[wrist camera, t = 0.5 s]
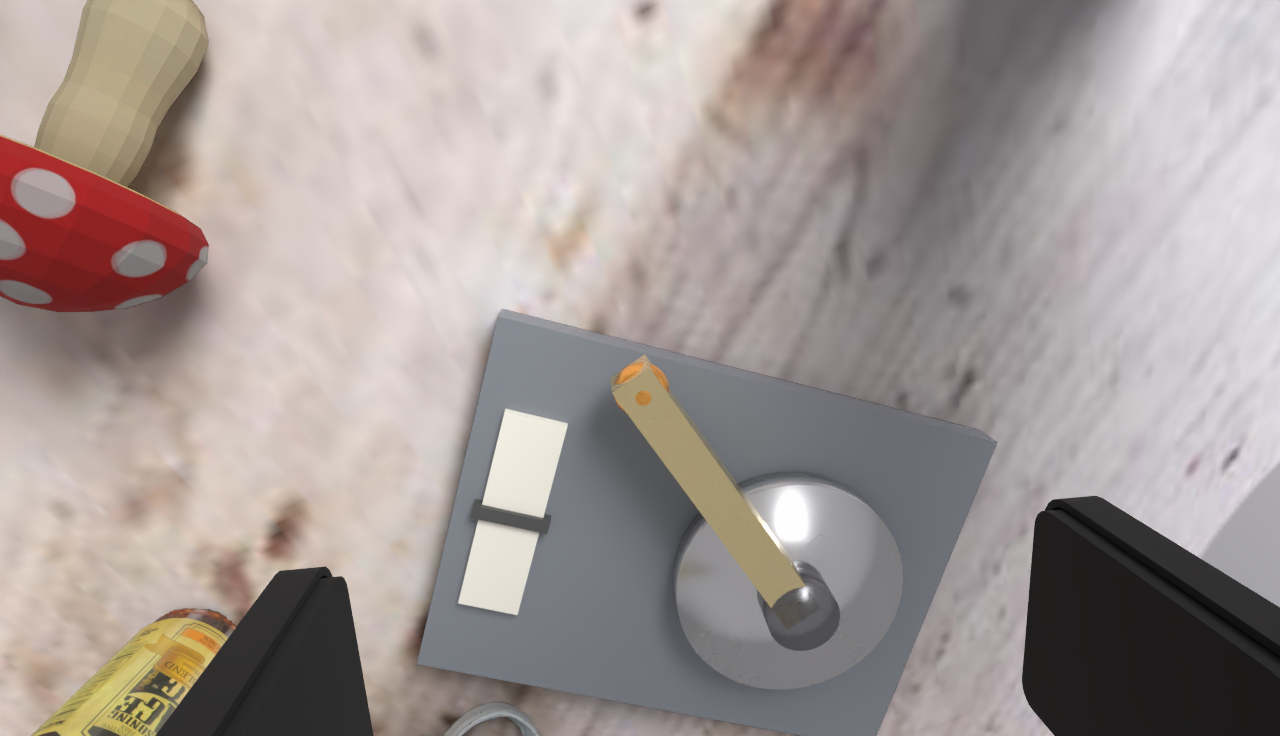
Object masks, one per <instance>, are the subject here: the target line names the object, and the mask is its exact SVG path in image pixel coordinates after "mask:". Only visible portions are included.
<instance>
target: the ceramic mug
mask: <svg viewBox="0 0 1280 736" xmlns="http://www.w3.org/2000/svg"><path fill="white" fill-rule="evenodd" d="M496 717H507V718H508V719H510V720H511V721H512V722H514V723H515V724H516V725H517V726H518V727H519V728H520V729H521V733H522V735H523V736H540V735H539V733H538V731H537V729H536V727H535V725H534V724H533V722H532V720H531V719H530V718H529V717H528V716H527V715H526V714H525V713H524V712H522V711H521V710H520V709H518V708H516V707H514V706H512V705H509V704H507V703H500V702H492V703H488V704H484V705H480V706H477V707H475V708H473V709H471V710H470V711H468V712H467V713H465V714H464V715H463V716H462V717H461V718H460V719H459V720H457V721H456V722H455V723H454V724H453V725H452V726H451V727H450V728H449V730H448V731H447V732H446V733H445V734H444V736H462V735H463V734H465V733H466V732H467V731H468V730H469V729H471V728H472V727H473V726H475V725H476V724H479V723H481V722H484V721H486V720H491V719H494V718H496ZM420 736H428V735H420Z"/></svg>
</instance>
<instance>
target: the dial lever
mask: <svg viewBox="0 0 1280 736" xmlns="http://www.w3.org/2000/svg"><path fill="white" fill-rule="evenodd" d="M610 381H611V389H612V394H613V395H614V399H615V401H616V404H617V405H618V407H619V408H620V409H621V410H622V411H623V412H624V413H626V414H627V415H628V416H629V417H630V418H631V420H632V421H633V422H634V424H635V425H636V426H637V428H638V429H639V430H640V432H641V433H642V434H643V436H644V437H645V439H646V440H647V441H648V443H649V444H650V445H651V447H652V448H653V449H654V451H655V452H656V453H657V455H658V456H659V457H660V459H661V460H662V462H663V463H664V464H665V466H666V467H667V468H668V470H669V471H670V472H671V474H672V475H673V476H674V478H675V479H676V480H677V482H678V483H679V484H680V486H681V487H682V489H683V490H684V491H685V493H686V494H687V495H688V497H689V498H690V499H691V501H692V502H693V503H694V505H695V506H696V507H697V509H698V510H699V511H700V512H699V514H698V515H697V516H696V517H695V518H694V520H693V521H692V522H691V524H690V526H689V527H688V529H687V530H686V532H685V534H684V536H683V538H682V540H681V543H680V545H679V547H678V551H677V554H676V558H675V563H674V570H673V588H674V594H675V600H676V605H677V610H678V614H679V619H680V622H681V625H682V628H683V631H684V633H685V635H686V637H687V639H688V641H689V643H690V644H691V646H692V647H693V649H694V650H695V652H696V653H697V654H698V655H699V656H700V657H701V658H702V659H703V660H704V661H705V662H706V663H707V664H708V665H709V666H711V667H712V668H713V669H714V670H716V671H717V672H719V673H720V674H722V675H724V676H725V677H727V678H730V679H732V680H734V681H736V682H738V683H742V684H745V685H748V686H752V687H757V688H763V689H776V690H783V689H796V688H802V687H807V686H811V685H815V684H818V683H821V682H824V681H826V680H829V679H831V678H834V677H836V676H838V675H840V674H841V673H843V672H845V671H847V670H848V669H850V668H851V667H853V666H854V665H856V664H857V663H858V662H860V661H861V660H862V659H863V658H864V657H865V656H867V655H868V654H869V653H870V652H871V651H872V650H873V649H874V648H875V646H876V645H877V644H878V643H879V642H880V641H881V639H882V638H883V636H884V635H885V634H886V632H887V631H888V629H889V627H890V625H891V623H892V621H893V620H894V617H895V615H896V612H897V609H898V607H899V603H900V599H901V595H902V587H903V568H902V562H901V557H900V552H899V550H898V547H897V544H896V542H895V540H894V538H893V536H892V534H891V532H890V531H889V529H888V528H887V526H886V525H885V524H884V522H883V521H882V520H881V519H880V517H879V516H878V515H877V514H876V513H875V511H874V510H873V509H872V508H871V507H870V505H869V504H868V503H867V502H866V501H865V500H864V499H863V498H862V497H861V496H860V495H859V494H857V493H856V492H854V491H853V490H852V489H850V488H849V487H847V486H846V485H844V484H842V483H840V482H838V481H836V480H833V479H831V478H828V477H825V476H822V475H818V474H813V473H808V472H797V471H787V472H775V473H769V474H763V475H760V476H757V477H753V478H750V479H747V480H745V481H743V482H740V483H738V484H737V482H736V481H735V480H734V478H733V477H732V475H731V474H730V473H729V471H728V470H727V468H726V467H725V466H724V464H723V463H722V461H721V460H720V459H719V457H718V456H717V454H716V453H715V452H714V450H713V449H712V447H711V446H710V445H709V443H708V442H707V440H706V439H705V438H704V436H703V435H702V433H701V432H700V431H699V429H698V428H697V426H696V425H695V424H694V422H693V421H692V419H691V418H690V417H689V415H688V414H687V412H686V411H685V410H684V408H683V407H682V405H681V404H680V403H679V401H678V400H677V398H676V397H675V396H674V394H673V393H672V391H671V390H670V388H669V382H668V380H667V377H666V376H665V374H664V373H663V371H662V370H661V369H660V368H658V367H657V366H655V365H653V364H652V363H651V362H650V361H649V359H648V358H647V356H646V355H645V354H644V355H643V356H641V357H640V358H639V359H637V360H636V361H634V362H633V363H631V364H630V365H628V366H626V367H625V368H623V369H622V370H621V371H620V372H618V373H617V374H615V375H614V376H612V377H611V378H610Z"/></svg>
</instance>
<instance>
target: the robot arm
mask: <svg viewBox="0 0 1280 736" xmlns="http://www.w3.org/2000/svg"><path fill="white" fill-rule="evenodd" d="M1022 684H1023V690H1024V693H1025V696H1026V699H1027V701H1028V703H1029V705H1030V707H1031V708H1032V709H1033V711H1034V712H1035V713H1036V714H1037V715H1038V717H1039V718H1040V719H1041V720H1042V721H1043V722H1044V724H1045V725H1046V726H1047V727H1048V728H1049V730H1050V731H1051V732H1052V733H1053V734H1054V735H1055V736H1280V608H1279V607H1278V606H1276V605H1275V604H1273V603H1271V602H1270V601H1268V600H1267V599H1265V598H1263V597H1262V596H1260V595H1258V594H1257V593H1255V592H1253V591H1252V590H1250V589H1249V588H1247V587H1245V586H1244V585H1242V584H1241V583H1239V582H1237V581H1236V580H1234V579H1232V578H1231V577H1229V576H1228V575H1226V574H1224V573H1223V572H1221V571H1220V570H1218V569H1216V568H1214V567H1213V566H1211V565H1210V564H1208V563H1206V562H1205V561H1203V560H1202V559H1200V558H1198V557H1197V556H1195V555H1194V554H1192V553H1190V552H1189V551H1187V550H1185V549H1184V548H1182V547H1181V546H1179V545H1177V544H1176V543H1174V542H1172V541H1171V540H1169V539H1168V538H1166V537H1164V536H1163V535H1161V534H1159V533H1158V532H1156V531H1155V530H1153V529H1151V528H1150V527H1148V526H1146V525H1145V524H1143V523H1142V522H1140V521H1138V520H1137V519H1135V518H1133V517H1132V516H1130V515H1129V514H1127V513H1125V512H1124V511H1122V510H1120V509H1119V508H1117V507H1116V506H1114V505H1112V504H1111V503H1109V502H1108V501H1106V500H1104V499H1103V498H1100V497H1098V496H1088V497H1077V498H1066V499H1056V500H1052V501H1051V502H1049V503H1048V505H1047V507H1046V509H1045V511H1041V512H1040V513H1039V514H1038V515H1037V517H1036V520H1035V527H1034V539H1033V552H1032V564H1031V576H1030V589H1029V601H1028V613H1027V625H1026V638H1025V650H1024V662H1023V675H1022ZM156 736H373V731H372V725H371V719H370V713H369V708H368V702H367V696H366V691H365V685H364V679H363V673H362V668H361V662H360V656H359V651H358V645H357V639H356V633H355V628H354V622H353V616H352V610H351V605H350V599H349V593H348V588H347V584H346V581H345V579H344V578H343V577H332V574H331V572H330V570H329V569H328V568H327V567H318V568H307V569H296V570H285V571H279V572H278V573H277V574H276V575H275V576H274V577H273V579H272V580H271V581H270V583H269V584H268V585H267V587H266V588H265V589H264V591H263V592H262V593H261V595H260V596H259V597H258V599H257V600H256V601H255V603H254V604H253V605H252V607H251V608H250V610H249V611H248V612H247V614H246V615H245V616H244V618H243V619H242V620H241V622H240V623H239V624H238V626H237V627H236V628H235V630H234V631H233V632H232V634H231V635H230V636H229V638H228V639H227V640H226V642H225V643H224V644H223V646H222V647H221V648H220V650H219V651H218V652H217V654H216V655H215V656H214V658H213V659H212V660H211V662H210V663H209V664H208V666H207V667H206V669H205V670H204V671H203V673H202V674H201V675H200V677H199V678H198V679H197V681H196V682H195V683H194V685H193V686H192V687H191V689H190V690H189V691H188V693H187V694H186V695H185V697H184V698H183V699H182V701H181V702H180V703H179V705H178V706H177V707H176V709H175V710H174V711H173V713H172V714H171V715H170V717H169V718H168V719H167V721H166V722H165V723H164V725H163V726H162V727H161V729H160V730H159V732H158V733H157V734H156Z"/></svg>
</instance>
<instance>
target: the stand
mask: <svg viewBox="0 0 1280 736" xmlns="http://www.w3.org/2000/svg"><path fill="white" fill-rule="evenodd" d="M644 354H645V355H646V356H647V358H648V359H649V361H650V362H651V363H652V364H653V365H655V366H657V367H658V368H660V369H661V370H662V371H663V373H664V374H665V376H666V377H667V380H668V382H669V388H670V390H671V391H672V393H673V394H674V396H675V397H676V398H677V400H678V401H679V403H680V404H681V405H682V407H683V408H684V410H685V411H686V412H687V414H688V415H689V417H690V418H691V419H692V421H693V422H694V424H695V425H696V426H697V428H698V429H699V431H700V432H701V433H702V435H703V436H704V438H705V439H706V440H707V442H708V443H709V445H710V446H711V447H712V449H713V450H714V452H715V453H716V454H717V456H718V457H719V459H720V460H721V461H722V463H723V464H724V466H725V467H726V468H727V470H728V471H729V473H730V474H731V475H732V477H733V478H734V480H735V481H736V482H737V484H738V483H740V482H743V481H745V480H747V479H750V478H753V477H757V476H760V475H763V474H769V473H775V472H787V471H797V472H808V473H813V474H818V475H822V476H825V477H828V478H831V479H833V480H836V481H838V482H840V483H842V484H844V485H846V486H847V487H849V488H850V489H852V490H853V491H854V492H856V493H857V494H859V495H860V496H861V497H862V498H863V499H864V500H865V501H866V502H867V503H868V504H869V505H870V507H871V508H872V509H873V510H874V511H875V513H876V514H877V515H878V516H879V517H880V519H881V520H882V521H883V522H884V524H885V525H886V526H887V528H888V529H889V531H890V532H891V534H892V536H893V538H894V540H895V542H896V544H897V547H898V550H899V552H900V557H901V562H902V568H903V587H902V595H901V599H900V603H899V607H898V609H897V612H896V615H895V617H894V620H893V621H892V623H891V625H890V627H889V629H888V631H887V632H886V634H885V635H884V636H883V638H882V639H881V641H880V642H879V643H878V644H877V645H876V646H875V648H874V649H873V650H872V651H871V652H870V653H869V654H868V655H867V656H865V657H864V658H863V659H862V660H861V661H860V662H858V663H857V664H856V665H854V666H853V667H851V668H850V669H848V670H847V671H845V672H843V673H841V674H840V675H838V676H836V677H834V678H831V679H829V680H826V681H824V682H821V683H818V684H815V685H811V686H807V687H802V688H796V689H783V690H776V689H763V688H757V687H752V686H748V685H745V684H742V683H738V682H736V681H734V680H732V679H730V678H727V677H725V676H724V675H722V674H720V673H719V672H717V671H716V670H714V669H713V668H712V667H711V666H709V665H708V664H707V663H706V662H705V661H704V660H703V659H702V658H701V657H700V656H699V655H698V654H697V653H696V652H695V650H694V649H693V647H692V646H691V644H690V643H689V641H688V639H687V637H686V635H685V633H684V631H683V628H682V625H681V622H680V619H679V614H678V610H677V605H676V600H675V594H674V588H673V570H674V563H675V558H676V554H677V551H678V547H679V545H680V543H681V540H682V538H683V536H684V534H685V532H686V530H687V529H688V527H689V526H690V524H691V522H692V521H693V520H694V518H695V517H696V516H697V515H698V514H699V512H700V511H699V510H698V509H697V507H696V506H695V505H694V503H693V502H692V501H691V499H690V498H689V497H688V495H687V494H686V493H685V491H684V490H683V489H682V487H681V486H680V484H679V483H678V482H677V480H676V479H675V478H674V476H673V475H672V474H671V472H670V471H669V470H668V468H667V467H666V466H665V464H664V463H663V462H662V460H661V459H660V457H659V456H658V455H657V453H656V452H655V451H654V449H653V448H652V447H651V445H650V444H649V443H648V441H647V440H646V439H645V437H644V436H643V434H642V433H641V432H640V430H639V429H638V428H637V426H636V425H635V424H634V422H633V421H632V420H631V418H630V417H629V416H628V415H627V414H626V413H624V412H623V411H622V410H621V409H620V408H619V407H618V405H617V404H616V401H615V399H614V395H613V394H612V389H611V381H610V378H611V377H612V376H614V375H615V374H617V373H618V372H620V371H621V370H622V369H623V368H625V367H626V366H628V365H630V364H631V363H633V362H634V361H636V360H637V359H639V358H640V357H641V356H643V355H644ZM996 444H997V442H996V441H995V440H993V439H992V438H990V437H989V436H987V435H986V434H984V433H983V432H981V431H980V430H978V429H974V428H970V427H966V426H962V425H958V424H954V423H950V422H946V421H942V420H938V419H935V418H931V417H927V416H923V415H919V414H915V413H911V412H907V411H903V410H899V409H895V408H891V407H887V406H883V405H879V404H875V403H872V402H868V401H864V400H860V399H856V398H852V397H848V396H844V395H840V394H836V393H832V392H828V391H824V390H820V389H816V388H812V387H808V386H805V385H801V384H797V383H793V382H789V381H785V380H781V379H777V378H773V377H769V376H765V375H761V374H757V373H753V372H749V371H745V370H742V369H738V368H734V367H730V366H726V365H722V364H718V363H714V362H710V361H706V360H702V359H698V358H694V357H690V356H686V355H682V354H678V353H675V352H671V351H667V350H663V349H659V348H655V347H651V346H647V345H643V344H639V343H635V342H631V341H627V340H623V339H619V338H615V337H611V336H608V335H604V334H600V333H596V332H592V331H588V330H584V329H580V328H576V327H572V326H568V325H564V324H560V323H556V322H552V321H548V320H545V319H541V318H537V317H533V316H529V315H525V314H521V313H517V312H513V311H509V310H505V309H502V310H501V312H500V314H499V315H498V318H497V323H496V327H495V331H494V335H493V340H492V344H491V348H490V353H489V357H488V361H487V365H486V370H485V374H484V378H483V383H482V387H481V391H480V395H479V400H478V404H477V408H476V412H475V417H474V421H473V425H472V430H471V434H470V438H469V442H468V447H467V451H466V455H465V460H464V464H463V468H462V472H461V477H460V481H459V485H458V490H457V494H456V498H455V502H454V507H453V511H452V515H451V519H450V524H449V528H448V532H447V537H446V541H445V545H444V549H443V554H442V558H441V562H440V567H439V571H438V575H437V579H436V584H435V588H434V592H433V597H432V601H431V605H430V609H429V614H428V618H427V622H426V626H425V631H424V635H423V639H422V644H421V648H420V652H419V656H418V661H417V664H418V665H423V666H429V667H434V668H439V669H445V670H450V671H455V672H461V673H466V674H472V675H477V676H482V677H488V678H493V679H498V680H504V681H509V682H514V683H520V684H525V685H531V686H536V687H541V688H547V689H552V690H557V691H563V692H568V693H573V694H579V695H584V696H589V697H595V698H600V699H606V700H611V701H616V702H622V703H627V704H632V705H638V706H643V707H648V708H654V709H659V710H664V711H670V712H675V713H681V714H686V715H691V716H697V717H702V718H707V719H713V720H718V721H723V722H729V723H734V724H739V725H745V726H750V727H756V728H761V729H766V730H772V731H777V732H782V733H788V734H793V735H798V736H877V733H878V731H879V728H880V726H881V723H882V721H883V719H884V716H885V714H886V711H887V709H888V706H889V704H890V702H891V699H892V697H893V694H894V692H895V689H896V687H897V685H898V682H899V680H900V677H901V675H902V672H903V670H904V668H905V665H906V663H907V660H908V658H909V655H910V653H911V651H912V648H913V646H914V643H915V641H916V638H917V636H918V634H919V631H920V629H921V626H922V624H923V621H924V619H925V617H926V614H927V612H928V609H929V607H930V604H931V602H932V600H933V597H934V595H935V592H936V590H937V587H938V585H939V583H940V580H941V578H942V575H943V573H944V570H945V568H946V566H947V563H948V561H949V558H950V556H951V553H952V551H953V549H954V546H955V544H956V541H957V539H958V536H959V534H960V532H961V529H962V527H963V524H964V522H965V519H966V517H967V515H968V512H969V510H970V507H971V505H972V502H973V500H974V498H975V495H976V493H977V490H978V488H979V485H980V483H981V481H982V478H983V476H984V473H985V471H986V468H987V466H988V464H989V461H990V459H991V456H992V454H993V451H994V449H995V447H996Z"/></svg>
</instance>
